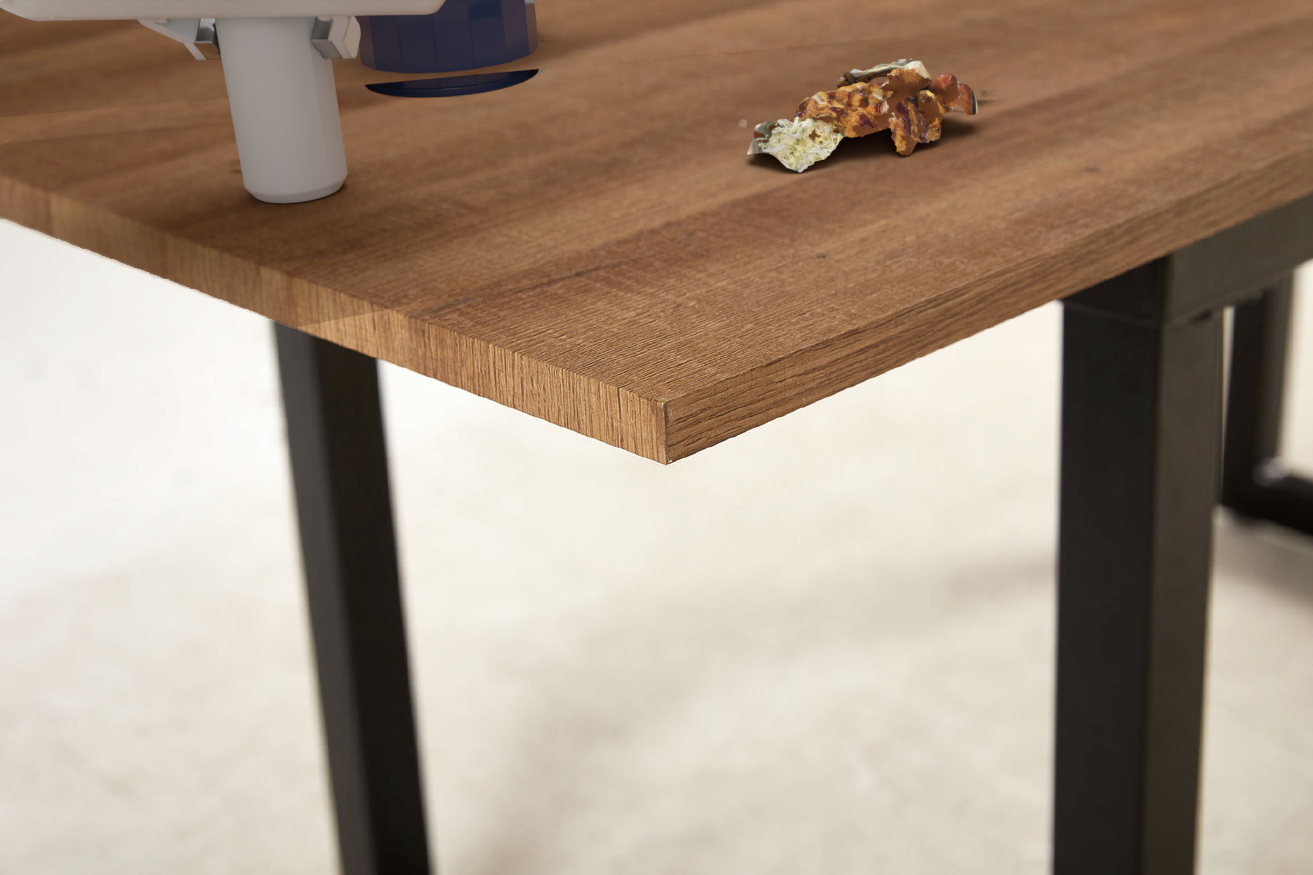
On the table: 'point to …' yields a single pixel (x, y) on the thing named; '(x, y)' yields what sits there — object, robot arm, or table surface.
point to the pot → (450, 46)
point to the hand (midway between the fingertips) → (279, 46)
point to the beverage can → (282, 108)
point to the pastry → (866, 113)
